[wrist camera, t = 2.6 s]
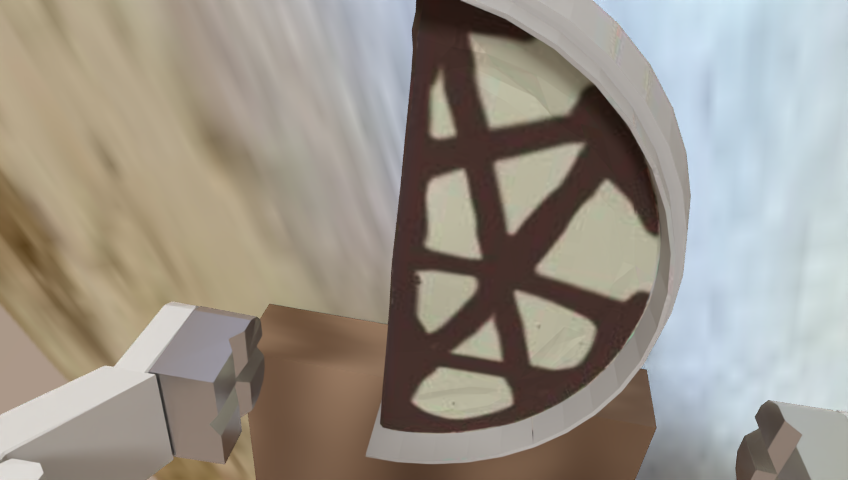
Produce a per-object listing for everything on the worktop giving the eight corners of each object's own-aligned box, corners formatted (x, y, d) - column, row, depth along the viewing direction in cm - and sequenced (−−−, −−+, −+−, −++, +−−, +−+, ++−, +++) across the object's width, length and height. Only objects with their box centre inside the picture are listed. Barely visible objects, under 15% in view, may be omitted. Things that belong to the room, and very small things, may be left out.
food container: (589, 283, 24) (608, 524, 15) (429, 253, 24) (364, 470, 16) (702, -80, 17) (844, 0, 8) (475, -108, 17) (402, -61, 9)
